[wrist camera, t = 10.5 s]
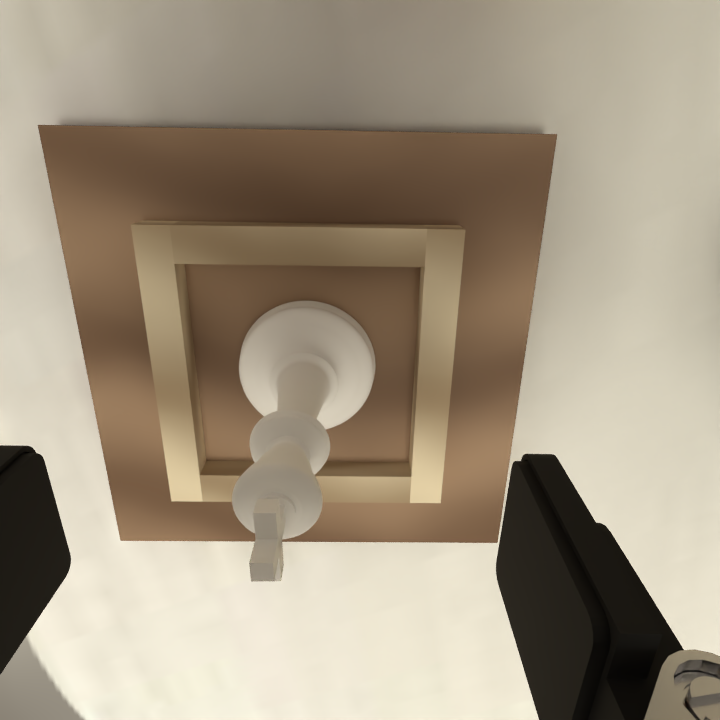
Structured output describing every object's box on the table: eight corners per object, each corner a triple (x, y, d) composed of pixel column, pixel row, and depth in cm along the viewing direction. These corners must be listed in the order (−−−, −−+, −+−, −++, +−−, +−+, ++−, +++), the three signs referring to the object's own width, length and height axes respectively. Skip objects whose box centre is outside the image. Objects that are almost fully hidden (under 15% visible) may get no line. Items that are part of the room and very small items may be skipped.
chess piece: (246, 424, 20) (149, 666, 10) (234, 300, 18) (103, 458, 9) (374, 424, 20) (391, 664, 10) (376, 299, 18) (398, 457, 9)
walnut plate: (58, 127, 17) (17, 123, 15) (544, 135, 17) (569, 132, 15) (132, 521, 23) (110, 557, 21) (490, 523, 23) (503, 559, 21)
